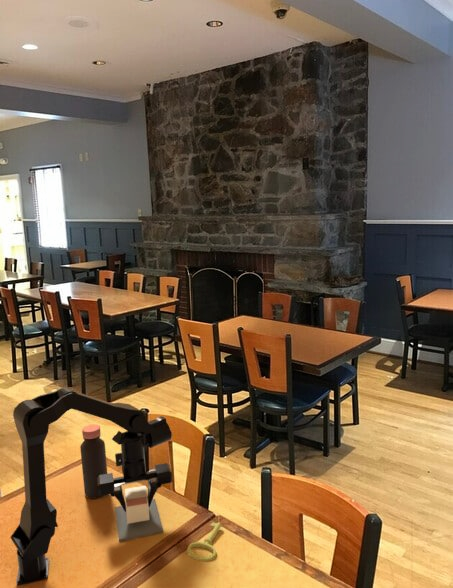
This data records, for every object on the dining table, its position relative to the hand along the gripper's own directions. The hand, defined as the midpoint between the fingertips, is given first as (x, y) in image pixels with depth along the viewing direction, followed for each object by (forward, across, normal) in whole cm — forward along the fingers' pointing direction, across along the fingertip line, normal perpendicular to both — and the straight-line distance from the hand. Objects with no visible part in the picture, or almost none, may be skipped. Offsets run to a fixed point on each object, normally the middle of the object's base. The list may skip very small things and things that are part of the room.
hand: (137, 508), depth 128 cm
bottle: (+4, +10, -17) cm, 20 cm away
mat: (+3, 0, 0) cm, 3 cm away
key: (+4, -15, +15) cm, 22 cm away
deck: (+1, 0, 0) cm, 1 cm away
